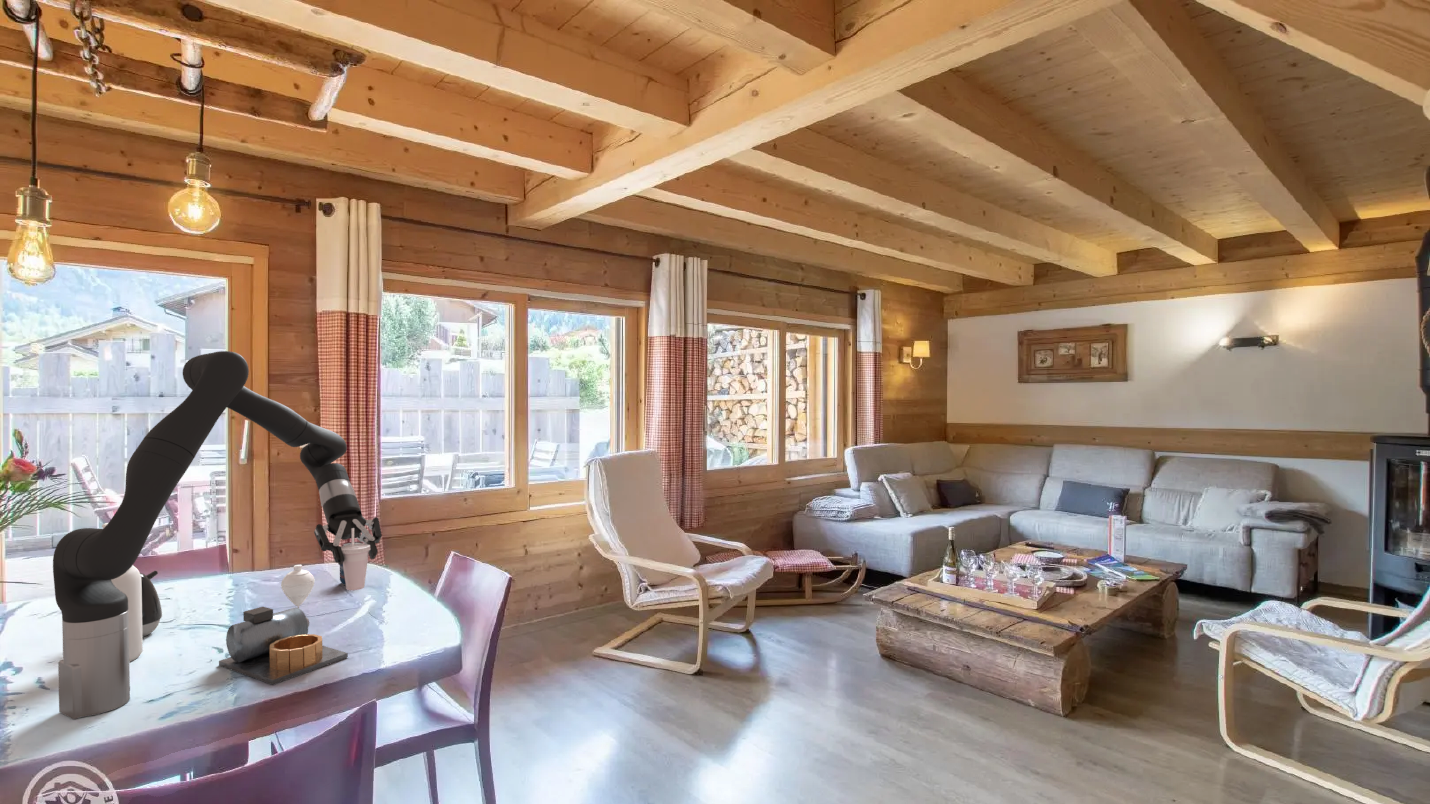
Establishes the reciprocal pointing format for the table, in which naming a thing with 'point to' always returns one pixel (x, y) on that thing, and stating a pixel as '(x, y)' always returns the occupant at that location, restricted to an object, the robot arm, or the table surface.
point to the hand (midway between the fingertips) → (358, 559)
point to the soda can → (342, 577)
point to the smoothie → (355, 564)
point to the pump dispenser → (150, 604)
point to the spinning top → (297, 585)
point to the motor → (276, 646)
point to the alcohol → (132, 607)
